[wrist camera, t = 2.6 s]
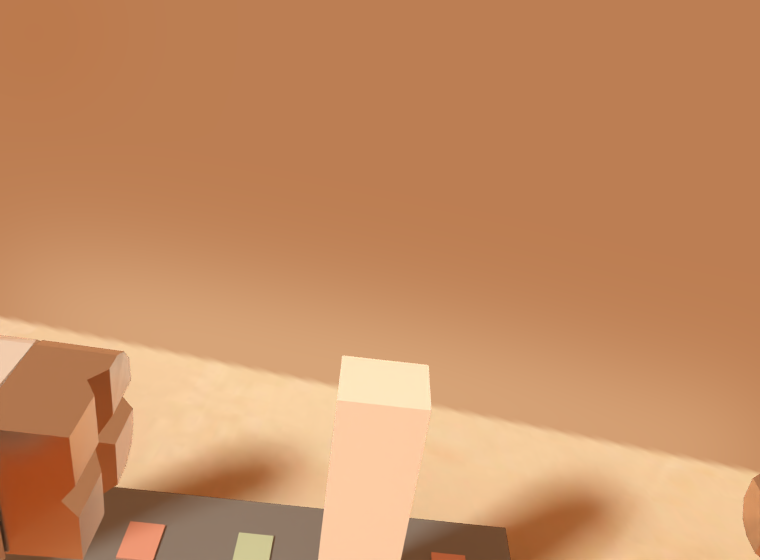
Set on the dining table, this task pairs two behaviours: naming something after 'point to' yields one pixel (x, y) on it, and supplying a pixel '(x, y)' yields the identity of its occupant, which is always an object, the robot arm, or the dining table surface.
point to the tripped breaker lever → (374, 458)
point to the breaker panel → (253, 532)
